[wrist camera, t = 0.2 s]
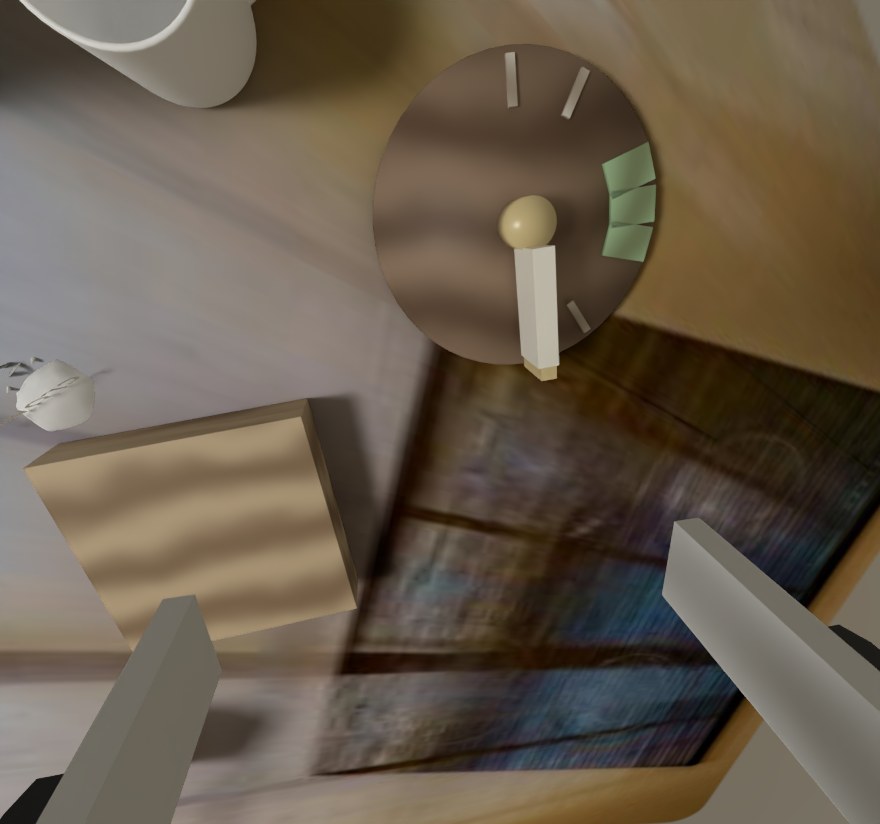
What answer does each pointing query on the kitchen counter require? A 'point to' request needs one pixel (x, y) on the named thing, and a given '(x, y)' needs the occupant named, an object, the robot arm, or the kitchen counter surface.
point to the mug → (164, 42)
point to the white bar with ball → (534, 280)
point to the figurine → (55, 396)
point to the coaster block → (205, 519)
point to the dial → (512, 196)
